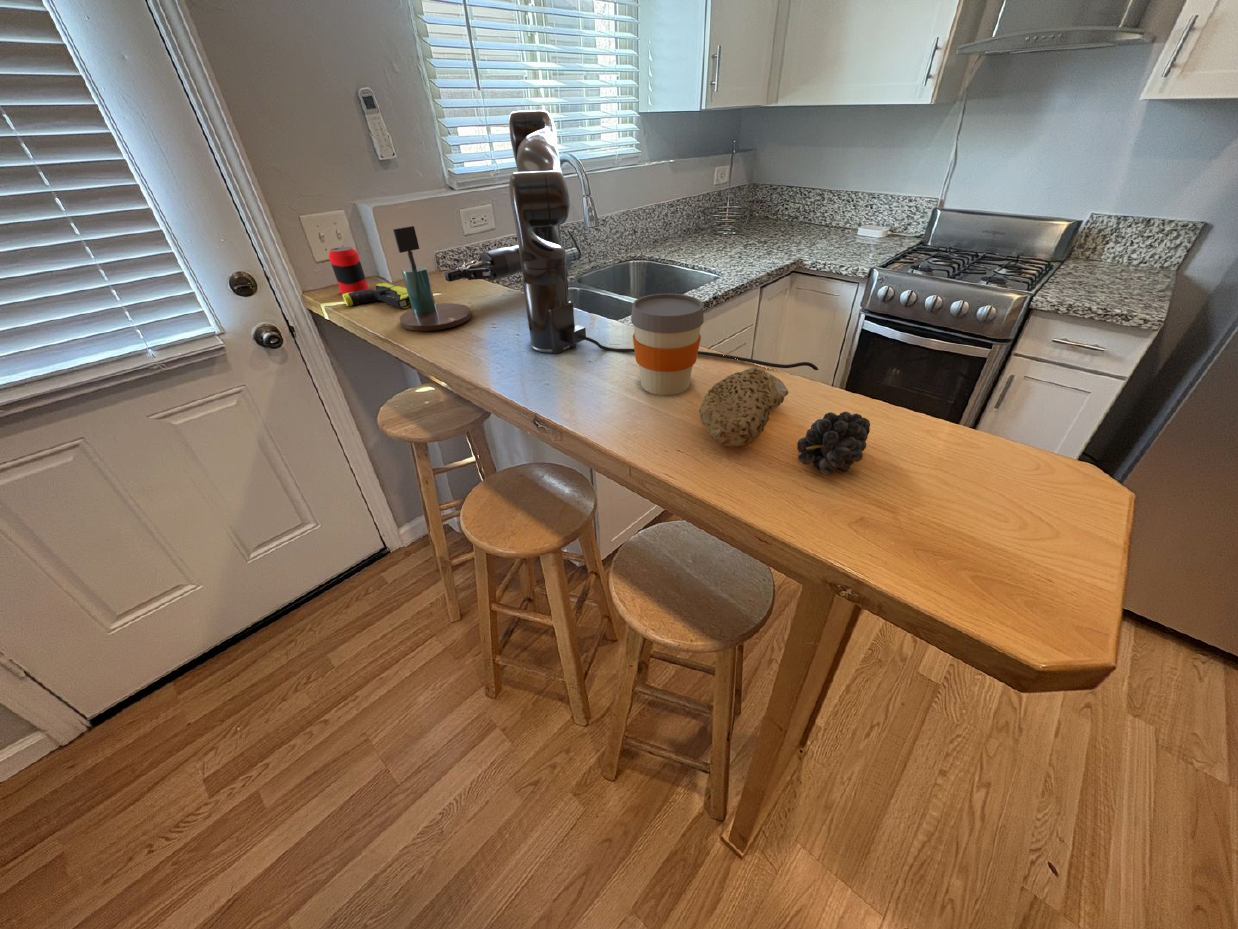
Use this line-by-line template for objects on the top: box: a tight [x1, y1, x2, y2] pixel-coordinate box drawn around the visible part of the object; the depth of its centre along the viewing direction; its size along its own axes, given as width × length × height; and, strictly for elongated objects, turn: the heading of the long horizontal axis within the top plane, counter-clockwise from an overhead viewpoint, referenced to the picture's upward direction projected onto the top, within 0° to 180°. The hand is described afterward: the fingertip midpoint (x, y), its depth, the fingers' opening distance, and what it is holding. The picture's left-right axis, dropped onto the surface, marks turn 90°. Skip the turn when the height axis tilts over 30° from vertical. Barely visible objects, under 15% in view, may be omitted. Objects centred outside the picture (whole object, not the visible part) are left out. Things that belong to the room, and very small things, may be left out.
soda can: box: [328, 246, 370, 295], centre depth 142 cm, size 8×8×12 cm
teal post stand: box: [392, 225, 472, 332], centre depth 117 cm, size 17×17×20 cm
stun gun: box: [341, 282, 411, 309], centre depth 135 cm, size 3×19×15 cm
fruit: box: [796, 411, 871, 476], centre depth 69 cm, size 9×8×15 cm
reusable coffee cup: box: [630, 293, 704, 396], centre depth 87 cm, size 12×13×15 cm
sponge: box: [698, 367, 789, 448], centre depth 78 cm, size 13×8×20 cm
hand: (446, 277), depth 125 cm, fingers closed
